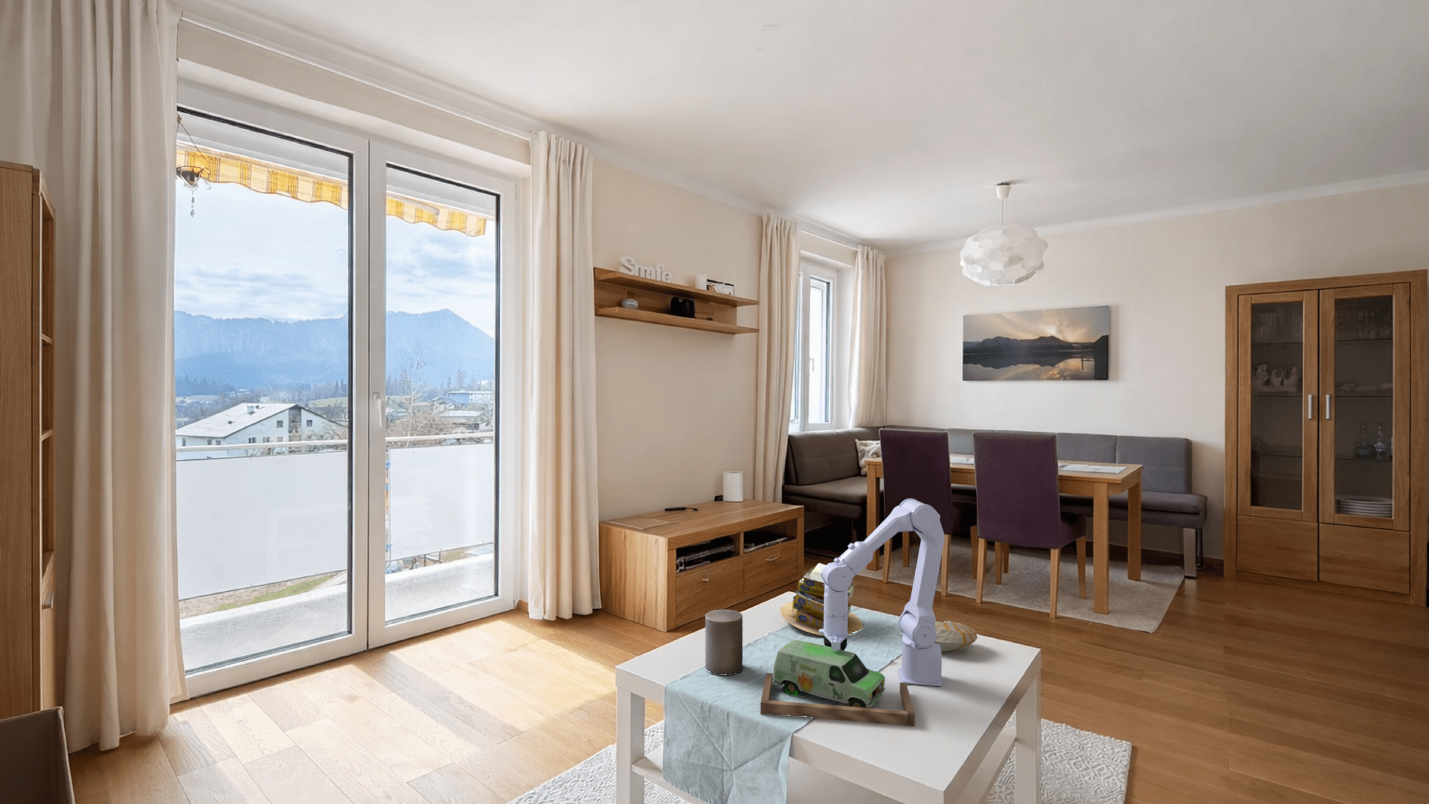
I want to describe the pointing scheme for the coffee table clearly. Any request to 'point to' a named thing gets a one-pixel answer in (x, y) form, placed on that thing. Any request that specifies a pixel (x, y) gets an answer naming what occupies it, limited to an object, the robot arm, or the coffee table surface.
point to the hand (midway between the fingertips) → (835, 668)
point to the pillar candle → (724, 641)
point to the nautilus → (953, 635)
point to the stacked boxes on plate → (814, 604)
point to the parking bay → (839, 709)
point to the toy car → (827, 674)
